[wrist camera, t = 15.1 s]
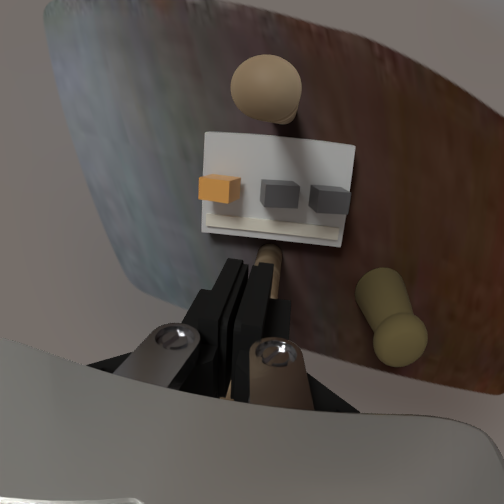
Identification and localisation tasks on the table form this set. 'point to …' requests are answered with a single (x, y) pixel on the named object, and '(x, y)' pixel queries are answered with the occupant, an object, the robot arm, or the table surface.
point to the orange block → (219, 188)
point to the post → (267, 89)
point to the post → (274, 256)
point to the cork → (391, 317)
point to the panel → (275, 168)
